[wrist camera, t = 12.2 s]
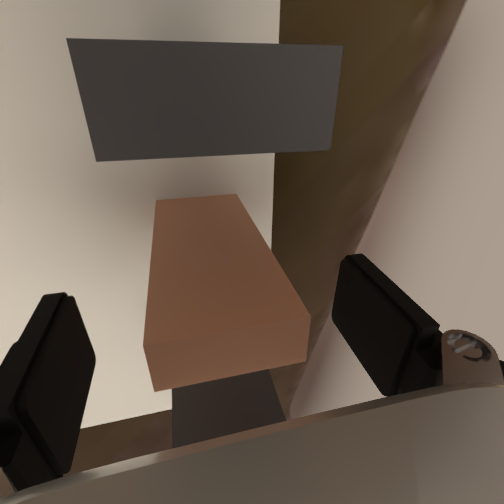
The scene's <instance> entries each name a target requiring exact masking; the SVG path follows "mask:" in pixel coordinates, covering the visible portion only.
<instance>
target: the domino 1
mask: <svg viewBox="0 0 504 504" xmlns="http://www.w3.org/2000/svg"><path fill="white" fill-rule="evenodd" d="M66 41H67V45H68V49H69V53H70V57H71V61H72V65H73V69H74V73H75V77H76V81H77V86H78V90H79V94H80V98H81V102H82V106H83V110H84V114H85V118H86V122H87V126H88V130H89V134H90V139H91V143H92V147H93V151H94V155H95V159H96V162H105V161H125V160H144V159H164V158H184V157H204V156H224V155H244V154H263V153H283V152H303V151H323V150H331V142H332V134H333V126H334V118H335V110H336V102H337V94H338V86H339V77H340V69H341V61H342V53H343V45H309V44H272V43H234V42H196V41H159V40H121V39H83V38H66Z"/></svg>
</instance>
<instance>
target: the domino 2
mask: <svg viewBox="0 0 504 504" xmlns="http://www.w3.org/2000/svg"><path fill="white" fill-rule="evenodd" d="M310 322H311V316H310V314H309V312H308V311H307V309H306V307H305V306H304V304H303V302H302V301H301V299H300V297H299V296H298V294H297V293H296V291H295V289H294V288H293V286H292V284H291V283H290V281H289V279H288V278H287V276H286V274H285V273H284V271H283V269H282V268H281V266H280V265H279V263H278V261H277V260H276V258H275V256H274V255H273V253H272V251H271V250H270V248H269V246H268V245H267V243H266V242H265V240H264V238H263V237H262V235H261V233H260V232H259V230H258V228H257V227H256V225H255V223H254V222H253V220H252V219H251V217H250V215H249V214H248V212H247V210H246V209H245V207H244V205H243V204H242V202H241V200H240V199H239V197H238V195H237V194H228V195H216V196H204V197H191V198H179V199H167V200H156V204H155V215H154V227H153V238H152V249H151V260H150V271H149V282H148V293H147V305H146V316H145V327H144V338H143V349H144V353H145V357H146V361H147V365H148V369H149V373H150V377H151V381H152V385H153V389H154V392H158V391H163V390H168V389H173V388H178V387H182V386H187V385H192V384H197V383H202V382H207V381H212V380H217V379H222V378H226V377H231V376H236V375H241V374H246V373H251V372H256V371H261V370H266V369H270V368H275V367H280V366H285V365H290V364H295V363H300V362H305V361H306V355H307V346H308V338H309V330H310Z"/></svg>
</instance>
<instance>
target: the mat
mask: <svg viewBox="0 0 504 504" xmlns="http://www.w3.org/2000/svg"><path fill="white" fill-rule="evenodd" d="M279 19H280V0H0V365H1V363H2V361H3V360H4V358H5V356H6V354H7V353H8V351H9V349H10V347H11V346H12V345H13V343H15V342H17V341H18V340H19V338H20V336H21V334H22V332H23V331H24V329H25V327H26V325H27V323H28V322H29V320H30V318H31V316H32V314H33V312H34V311H35V309H36V307H37V305H38V303H39V302H40V300H41V298H42V296H43V295H45V294H52V293H60V292H66V293H67V294H68V296H73V297H74V298H75V300H76V303H77V306H78V308H79V311H80V314H81V317H82V319H83V322H84V325H85V328H86V330H87V333H88V336H89V338H90V341H91V344H92V347H93V349H94V352H95V356H96V365H95V369H94V373H93V377H92V382H91V386H90V390H89V394H88V398H87V402H86V407H85V411H84V415H83V419H82V423H81V428H85V427H90V426H95V425H99V424H104V423H109V422H113V421H118V420H122V419H127V418H132V417H136V416H141V415H146V414H150V413H155V412H160V411H164V410H169V409H172V389H168V390H163V391H158V392H154V389H153V385H152V381H151V377H150V373H149V369H148V365H147V361H146V357H145V353H144V349H143V338H144V327H145V316H146V305H147V293H148V282H149V271H150V260H151V249H152V238H153V227H154V215H155V204H156V200H167V199H179V198H191V197H204V196H216V195H228V194H237V195H238V197H239V199H240V200H241V202H242V204H243V205H244V207H245V209H246V210H247V212H248V214H249V215H250V217H251V219H252V220H253V222H254V223H255V225H256V227H257V228H258V230H259V232H260V233H261V235H262V237H263V238H264V240H265V242H266V243H267V245H268V246H269V248H270V250H271V238H272V211H273V183H274V156H275V153H263V154H244V155H224V156H204V157H184V158H164V159H144V160H125V161H105V162H96V159H95V155H94V151H93V147H92V143H91V139H90V134H89V130H88V126H87V122H86V118H85V114H84V110H83V106H82V102H81V98H80V94H79V90H78V86H77V81H76V77H75V73H74V69H73V65H72V61H71V57H70V53H69V49H68V45H67V41H66V38H83V39H121V40H159V41H196V42H234V43H272V44H279ZM81 428H80V429H81Z"/></svg>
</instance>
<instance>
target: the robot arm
mask: <svg viewBox="0 0 504 504" xmlns="http://www.w3.org/2000/svg"><path fill="white" fill-rule="evenodd" d="M332 320H333V322H334V324H335V325H336V327H337V328H338V330H339V331H340V333H341V334H342V336H343V337H344V339H345V340H346V342H347V343H348V345H349V346H350V348H351V349H352V350H353V352H354V354H355V355H356V357H357V358H358V360H359V361H360V362H361V364H362V365H363V367H364V368H365V370H366V371H367V373H368V374H369V376H370V377H371V379H372V380H373V382H374V383H375V385H376V386H377V388H378V389H379V391H380V392H381V393H382V395H384V396H387V397H385V398H381V399H376V400H372V401H368V402H364V403H360V404H355V405H351V406H347V407H343V408H338V409H334V410H330V411H325V412H321V413H317V414H313V415H309V416H304V417H300V418H297V419H292V420H288V421H284V422H280V423H275V424H271V425H267V426H263V427H259V428H255V429H251V430H247V431H242V432H238V433H234V434H230V435H226V436H222V437H218V438H214V439H210V440H206V441H202V442H198V443H193V444H189V445H185V446H181V447H177V448H173V449H169V450H165V451H161V452H157V453H153V454H149V455H145V456H141V457H137V458H133V459H129V460H125V461H121V462H117V463H114V464H110V465H106V466H102V467H99V468H95V469H91V470H87V471H83V472H80V473H76V474H72V475H68V476H64V477H63V474H66V473H68V472H69V471H70V468H71V465H72V461H73V457H74V453H75V448H76V444H77V440H78V436H79V432H80V428H81V423H82V419H83V415H84V411H85V407H86V402H87V398H88V394H89V390H90V386H91V382H92V377H93V373H94V369H95V365H96V356H95V352H94V349H93V347H92V344H91V341H90V338H89V336H88V333H87V330H86V328H85V325H84V322H83V319H82V317H81V314H80V311H79V308H78V306H77V303H76V300H75V298H74V297H73V296H68V294H67V293H66V292H60V293H52V294H45V295H43V296H42V298H41V300H40V302H39V303H38V305H37V307H36V309H35V311H34V312H33V314H32V316H31V318H30V320H29V322H28V323H27V325H26V327H25V329H24V331H23V332H22V334H21V336H20V338H19V340H18V341H17V342H15V343H13V345H12V346H11V347H10V349H9V351H8V353H7V354H6V356H5V358H4V360H3V361H2V363H1V365H0V504H504V361H501V360H499V358H498V355H497V353H496V351H495V349H494V348H493V347H492V346H491V345H490V344H489V343H488V342H487V341H485V340H484V339H483V338H481V337H479V336H477V335H475V334H473V333H470V332H467V331H463V330H448V331H446V332H445V333H442V332H441V331H439V330H438V329H439V326H440V325H439V324H438V323H437V322H436V321H435V320H434V319H433V318H432V317H431V316H429V315H428V314H427V313H426V312H425V311H424V310H423V309H422V308H421V307H420V306H418V304H416V303H415V302H414V301H413V300H412V299H411V298H410V297H409V296H408V295H407V294H405V292H403V291H402V290H401V289H400V288H399V287H398V286H397V285H396V284H395V283H394V282H393V281H391V280H390V279H389V278H388V277H387V276H386V275H385V274H384V273H383V272H382V271H380V269H378V268H377V267H376V266H375V265H374V264H373V263H372V262H371V261H370V260H369V259H368V258H367V257H366V256H364V255H363V254H354V255H347V256H346V257H345V259H344V260H342V261H341V264H340V269H339V275H338V281H337V286H336V292H335V297H334V303H333V308H332Z"/></svg>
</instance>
